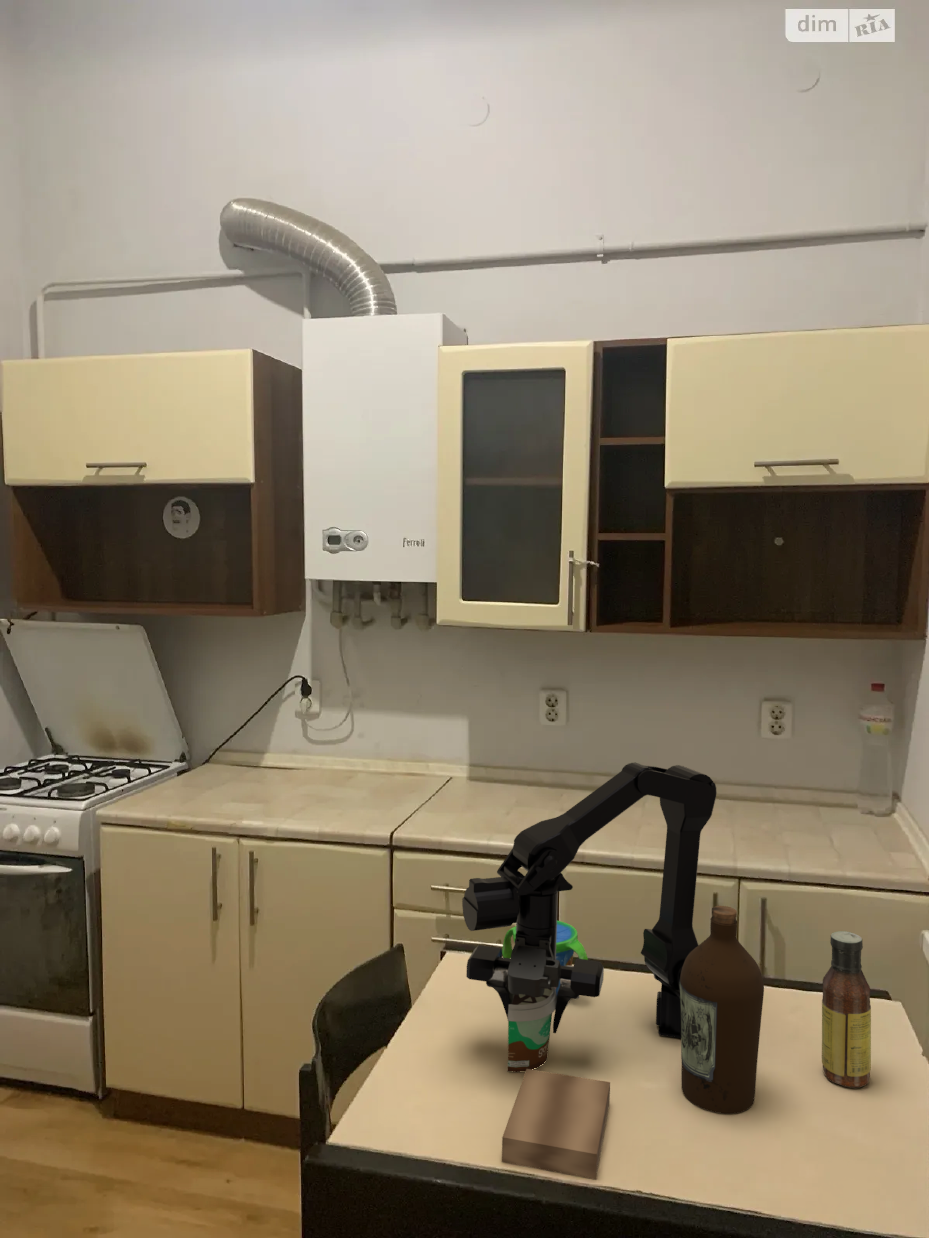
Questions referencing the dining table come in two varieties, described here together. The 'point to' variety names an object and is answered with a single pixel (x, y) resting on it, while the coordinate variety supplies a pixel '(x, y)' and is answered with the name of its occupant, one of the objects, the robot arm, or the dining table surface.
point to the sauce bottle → (846, 1014)
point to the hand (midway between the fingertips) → (533, 1028)
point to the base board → (557, 1124)
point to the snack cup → (564, 945)
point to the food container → (529, 1030)
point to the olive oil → (720, 1019)
